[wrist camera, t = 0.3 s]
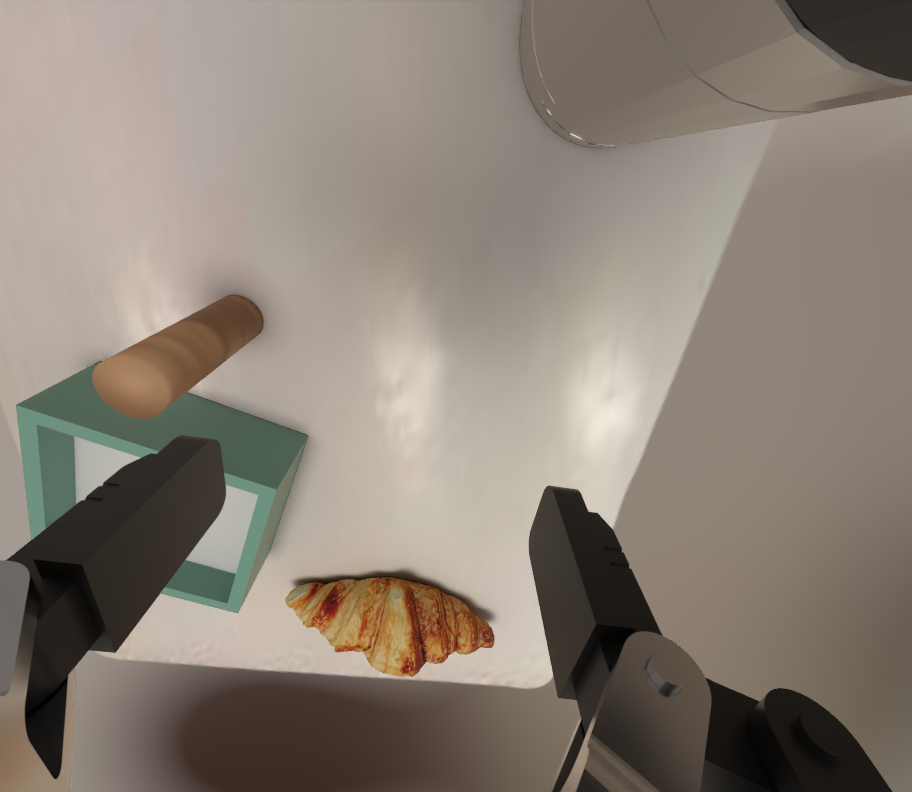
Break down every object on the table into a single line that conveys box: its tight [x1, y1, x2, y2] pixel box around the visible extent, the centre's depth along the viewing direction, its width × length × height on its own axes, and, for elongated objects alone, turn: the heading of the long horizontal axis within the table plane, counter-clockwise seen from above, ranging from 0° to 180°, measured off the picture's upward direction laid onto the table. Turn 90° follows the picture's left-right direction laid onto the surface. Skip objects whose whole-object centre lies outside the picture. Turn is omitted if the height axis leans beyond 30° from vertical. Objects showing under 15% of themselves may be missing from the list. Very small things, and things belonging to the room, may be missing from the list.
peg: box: [92, 295, 263, 419], centre depth 22 cm, size 3×3×10 cm
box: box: [16, 362, 308, 613], centre depth 30 cm, size 15×15×6 cm
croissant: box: [286, 577, 494, 677], centre depth 39 cm, size 21×10×8 cm, turn 76°
